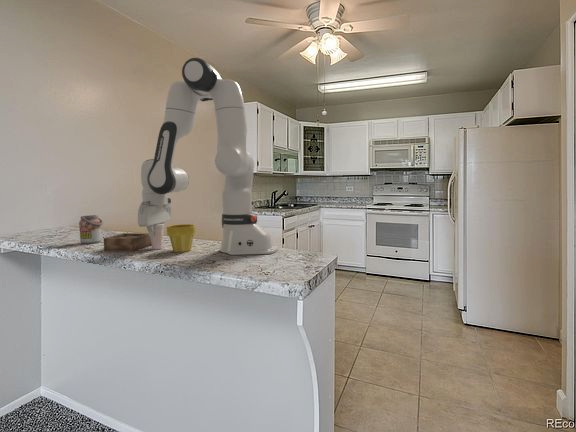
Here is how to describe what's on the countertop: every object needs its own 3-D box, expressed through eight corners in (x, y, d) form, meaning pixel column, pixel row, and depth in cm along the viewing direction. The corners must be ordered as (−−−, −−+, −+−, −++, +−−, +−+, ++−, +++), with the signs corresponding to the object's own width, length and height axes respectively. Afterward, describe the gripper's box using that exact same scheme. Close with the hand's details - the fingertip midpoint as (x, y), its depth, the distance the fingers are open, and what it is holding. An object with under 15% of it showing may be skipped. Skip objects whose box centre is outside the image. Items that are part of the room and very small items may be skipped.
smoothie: (159, 250, 128) (157, 214, 126) (145, 249, 129) (143, 214, 128) (168, 246, 134) (167, 213, 133) (154, 246, 135) (152, 212, 134)
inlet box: (152, 244, 139) (152, 233, 139) (135, 251, 126) (134, 238, 126) (124, 244, 140) (123, 233, 140) (104, 250, 128) (103, 238, 127)
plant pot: (179, 247, 134) (178, 223, 133) (201, 248, 131) (200, 224, 130) (162, 252, 124) (161, 226, 123) (185, 253, 121) (184, 227, 120)
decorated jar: (108, 241, 150) (106, 215, 148) (95, 244, 141) (93, 217, 140) (89, 240, 151) (87, 215, 149) (75, 244, 142) (73, 217, 141)
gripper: (148, 202, 119) (150, 239, 120) (173, 199, 139) (175, 231, 141) (131, 202, 120) (134, 239, 121) (159, 199, 140) (161, 231, 141)
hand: (156, 234), depth 131 cm, fingers closed on smoothie, 5 cm apart
